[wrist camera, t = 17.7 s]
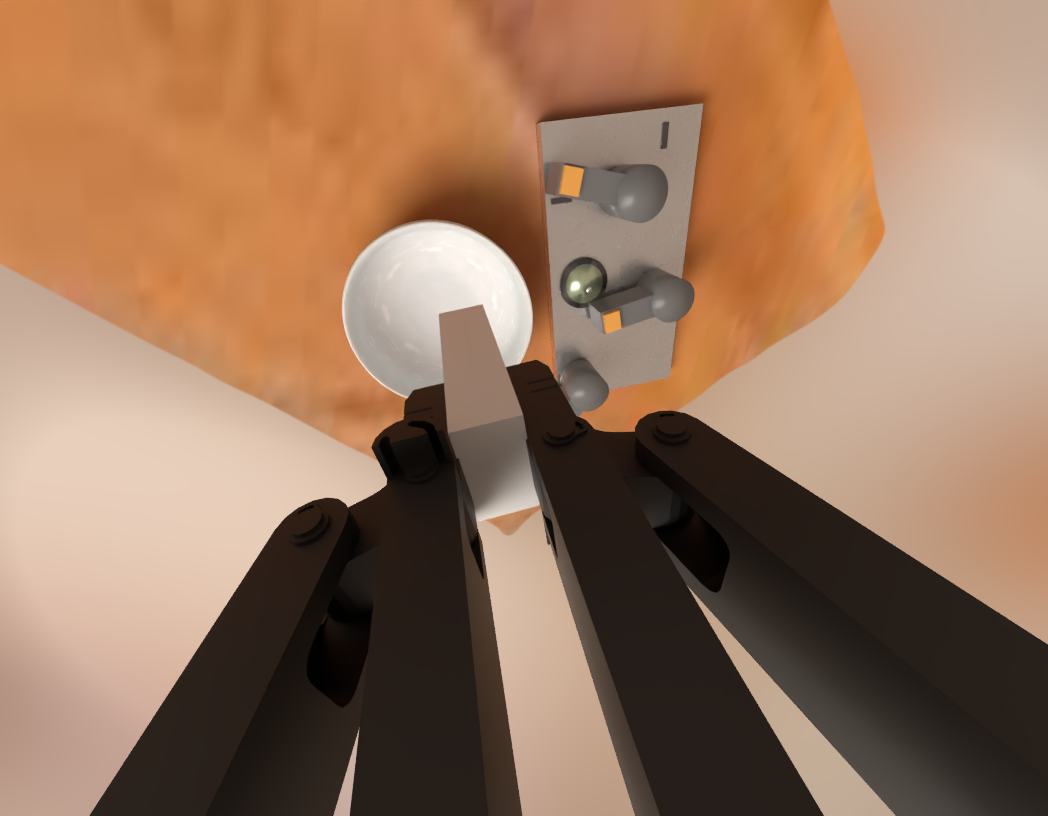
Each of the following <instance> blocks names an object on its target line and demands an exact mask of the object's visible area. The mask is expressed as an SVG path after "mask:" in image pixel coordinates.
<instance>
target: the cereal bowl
mask: <svg viewBox="0 0 1048 816" xmlns="http://www.w3.org/2000/svg"><path fill="white" fill-rule="evenodd" d="M481 304H483V307H484V309H485V312H486V315H487V318H488V320H489V323H490V326H491V328H492V331H493V334H494V337H495V339H496V342H497V345H498V348H499V350H500V353H501V356H502V358H503V361H504V364H505V367H508V366H512V365H517V364H520V363H521V361H522V359H523V357H524V355H525V353H526V351H527V348H528V345H529V342H530V339H531V334H532V327H533V309H532V302H531V298H530V293H529V290H528V288H527V285H526V282H525V280H524V278H523V276H522V274H521V272H520V270H519V269H518V267H517V266H516V264H515V263H514V261H513V260H512V259H511V258H510V256H509V255H508V254H507V253H506V252H505V251H504V250H503V249H502V248H501V247H499V246H498V245H497V244H496V243H494V242H493V241H492V240H491V239H489V238H488V237H487V236H485V235H483V234H482V233H480V232H478V231H476V230H474V229H473V228H470V227H468V226H465V225H462V224H459V223H456V222H450V221H447V220H437V219H433V220H431V219H427V220H417V221H412V222H408V223H404V224H402V225H398V226H396V227H394V228H392V229H390V230H387V231H386V232H384V233H383V234H381V235H380V236H378V237H377V238H376V239H374V240H373V241H372V242H371V243H369V244H368V245H367V246H366V247H365V248H364V250H363V251H362V252H361V253H360V254H359V256H358V257H357V258H356V260H355V262H354V263H353V265H352V267H351V269H350V272H349V274H348V276H347V279H346V282H345V286H344V290H343V297H342V317H343V324H344V328H345V332H346V335H347V338H348V341H349V343H350V346H351V348H352V350H353V351H354V353H355V355H356V357H357V358H358V359H359V361H360V362H361V364H362V365H363V366H364V368H365V369H366V370H367V371H368V372H369V373H370V374H371V375H372V377H374V378H375V379H376V380H377V381H378V382H379V383H381V384H382V385H383V386H385V387H386V388H388V389H389V390H391V391H393V392H395V393H396V394H398V395H400V396H403V397H405V398H408V397H409V395H410V394H411V393H412V391H413V390H415V389H420V388H424V387H428V386H433V385H437V384H441V383H444V377H443V364H442V351H441V339H440V326H439V314H440V313H444V312H449V311H454V310H458V309H463V308H467V307H472V306H477V305H481Z"/></svg>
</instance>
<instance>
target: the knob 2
mask: <svg viewBox="0 0 1048 816" xmlns="http://www.w3.org/2000/svg"><path fill="white" fill-rule="evenodd" d="M693 301H694V289H693V287H692V285H691V284H690V283H689V282H688V281H686V280H684V279H681V278H679V277H677V276H675V275H672V274H670V273H668V272H666V271H663V270H660V269H655V270H651V271H649V272H647V273H646V274H644V275H643V276H642V277H641V278H640V279H639V281H638V283H637V285H636V287H634V288H631V289H628V290H625V291H622V292H619V293H616V294H613V295H610V296H607V297H604V298H601V299H598V300H595V301H592V302H589V303H588V304H589V310H590V316H591V322H592V324H593V325H594V326H595V327H596V328H597V329H598V330H599V331H600V332H601V333H602V334H606V333H607V334H608V333H611V332H614V331H617V330H620V329H622V328H624V327H627V326H630V325H633V324H636V323H639V322H641V321H644V320H647V319H650V318H653V317H656V318H657V319H659V320H660V321H662V322H666V323H671V322H675V321H677V320H679V319H681V318H682V317H683V316H685V315H686V314H687V312H688V311H689V310H690V308H691V306H692V304H693Z"/></svg>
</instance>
